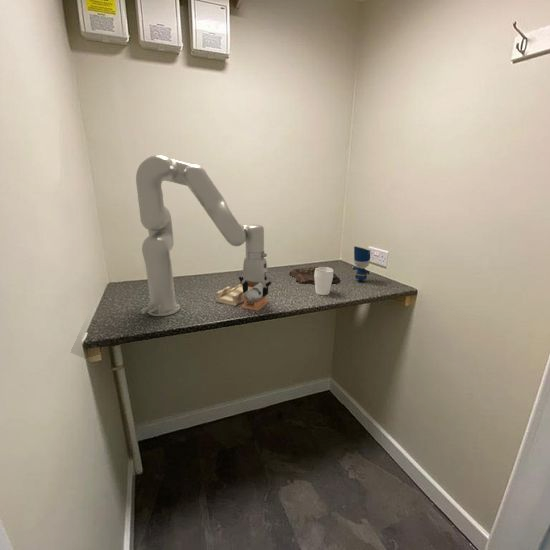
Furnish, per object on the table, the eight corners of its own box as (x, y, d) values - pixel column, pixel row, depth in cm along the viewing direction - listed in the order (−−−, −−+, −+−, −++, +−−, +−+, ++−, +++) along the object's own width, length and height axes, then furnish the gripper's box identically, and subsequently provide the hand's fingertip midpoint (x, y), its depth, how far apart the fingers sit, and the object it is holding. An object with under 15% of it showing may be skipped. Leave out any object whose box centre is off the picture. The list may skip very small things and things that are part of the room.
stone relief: (325, 262, 179) (349, 277, 151) (325, 269, 180) (348, 285, 152) (285, 264, 172) (302, 280, 145) (285, 271, 174) (302, 288, 146)
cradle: (257, 311, 118) (257, 304, 118) (241, 307, 122) (241, 301, 121) (268, 302, 127) (268, 296, 126) (253, 299, 130) (253, 293, 129)
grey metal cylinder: (255, 305, 119) (256, 292, 117) (243, 301, 121) (244, 288, 119) (266, 297, 128) (267, 285, 126) (255, 294, 130) (256, 282, 128)
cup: (316, 296, 135) (317, 272, 131) (311, 290, 143) (312, 267, 139) (334, 295, 136) (336, 271, 132) (328, 289, 144) (329, 266, 141)
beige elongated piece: (235, 306, 123) (235, 295, 121) (216, 301, 127) (216, 291, 126) (258, 290, 141) (258, 281, 140) (241, 287, 145) (241, 278, 144)
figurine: (374, 283, 154) (378, 247, 148) (362, 286, 149) (367, 249, 143) (355, 277, 164) (359, 242, 158) (344, 279, 159) (347, 244, 153)
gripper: (277, 255, 117) (277, 294, 122) (241, 251, 124) (242, 287, 130) (269, 259, 111) (269, 300, 116) (232, 254, 118) (233, 293, 123)
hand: (255, 293), depth 123 cm, fingers open, 9 cm apart
